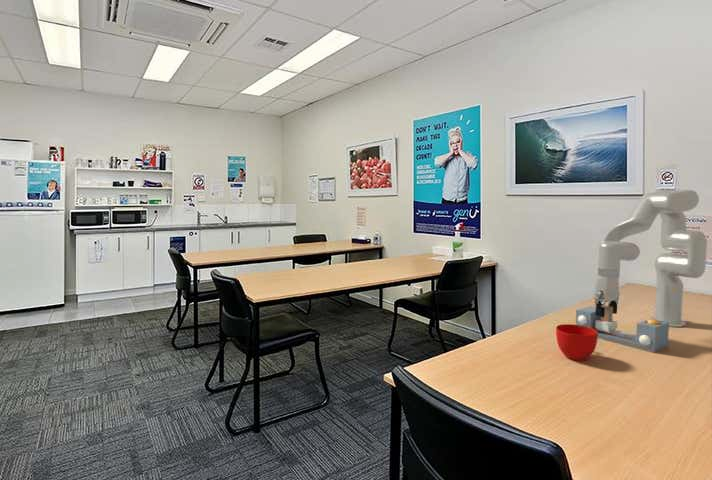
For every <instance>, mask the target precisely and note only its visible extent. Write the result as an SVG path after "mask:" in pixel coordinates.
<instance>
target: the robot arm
mask: <svg viewBox="0 0 712 480" xmlns="http://www.w3.org/2000/svg"><path fill="white" fill-rule="evenodd" d="M699 200H700V197H699V195H698V193H697V191H695V190H693V189H675V190H674V189H672V190H671V189H668V190H667V189H666V190H665V189H664V190H657V191H653V192H650V193H646V194H643V195H642V196H641V197H640V199H639V200H638V202H637V203H636V205H635V206H634V208H633V210H632V212H631V213H630V215H629V217H628V218H627V219H626V220H624V221H622V222H620V223H619V224H617V225H616V226H614V227H613V228H611V229H610V230H609V231H607V233H606V234H605V236H604V238H603V239H602V241H601V243H600V244H599V247H598V260H597V262H598V263H597V278H596V281H595V287H594V304H595V305H594V307H596V314H595V315H596V316H600V317H604V314H605V307H604V305H606V303H608V304H607V306H611V307H613V315H614V314H615V315H616V314H618V304H619V299H620V293H621V292H620V290H619V288H620V287H619V285H620V284H619V283H620V282H619V281H620V280H619V278H620V272H621V271H620V269H621V261H626V262H630V261H631V262H632V261H634V260H636V259H638V258H639V256H640V255H641V249H640V246H638V245H637V244H636V243H633V242H628V241H621V240H624V238H628V237H630V236H634V235H637V234H641V233H643V232H647V231H648V230H650V228H652V227H651V226H652V225H653V223H654V221H655V219H656V218H657V216H658V215H659V216H660V220H661V222H660V223H661V225H660V226H661V227H660V229H661V230H660V246H661V248H663V249H665V250H667V251H674V252H683V253H687V254H681V253H671V252H668V253H667V252H666V253H662V254H659V255H658V256H657V257H656V258H655V260H654V261H655V262H654V266H655V273H656V287H655V288H656V289H655V308H654V316H651V317H650V318H649V319H655V320H659V321H664V322H669V327H672V328H673V327H674V328H680V327H686V325H687V324H686V323H687V322H686V321H684V320H682V317H683V297H684V284H683V283H684V282H683V281H682V279H681V278H680V277H682V278H683V277H684V278H690V279H691V278H692V279H698V278H701V277H702V276H703V275H704V273H705V271H706V264H707V262H706V261H707V251H708V250H707V249H708V241H707V239H708V238H707V236H706V235H705V233H704V232H703V231H700V230H695V229H687V225H686V224H687V218H686V216H685V213H684V212H688V211H692V210H694V209H695V208H696V207H697V206H698V205H699Z"/></svg>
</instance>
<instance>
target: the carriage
mask: <svg viewBox="0 0 712 480" xmlns="http://www.w3.org/2000/svg"><path fill="white" fill-rule="evenodd" d="M604 307H605V314H604V317H601V319H600V320H597V321H596V322H595V328H597V330H600V331H604V332H607V333H611V330H616V329H618V320H614V319H613V317H614V316H613V315H614V313H613V307H611V306H608V305H607V304H605V305H604Z"/></svg>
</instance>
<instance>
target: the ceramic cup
mask: <svg viewBox="0 0 712 480" xmlns="http://www.w3.org/2000/svg"><path fill="white" fill-rule="evenodd" d="M555 332H556V333H555V335H556V343H557V345H558V347H559V350H560V351H561V352H562V354H563V355H564V357H566V358H568V359H570V360H572V361H579V362H580V361H585V360H587V359H588V358H590V357H591V356H592V354H593V353H594V352H595V350H596V346H597V344H598V339H599V338H598V332H597V331H596V330H595V329H592V328H589V327H586V326H581V325H576V324H573V323H572V324H571V323H569V324H567V323H566V324H565V323H563V324H560V325H559V324H558V325H557V326H556V327H555Z"/></svg>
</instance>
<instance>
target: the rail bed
mask: <svg viewBox="0 0 712 480" xmlns="http://www.w3.org/2000/svg"><path fill="white" fill-rule="evenodd" d="M595 314H596V306H591V305H590V306H586V307H583V308H582V307H581V308H579V309H576V311H575V325H581V326H586V327H589V328H592V329H595V330H596V331H597V332H598V338H597V339H600V340H603V341H604V340H605V341H609V342H612V343H615V344H620V345H623V346H627V347H630V348H634V349H637V350H642V351H645V352H649V353H654V354H655V353H657V352H660V351H662V350H664V349H666V348H668V345H669V331H670V326H669V322H664V321H659V325H653V324H649V323H647V320H643V321H640V322H637V323H636V333H635V334H632V333H629V332H626V331H625V332H624V331H620V330H616V329H615V330H611V333H607V332H604V331H600V330H597V328H595V322H596V321H597V320H600V319H601V317H600V316H596V315H595Z"/></svg>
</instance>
